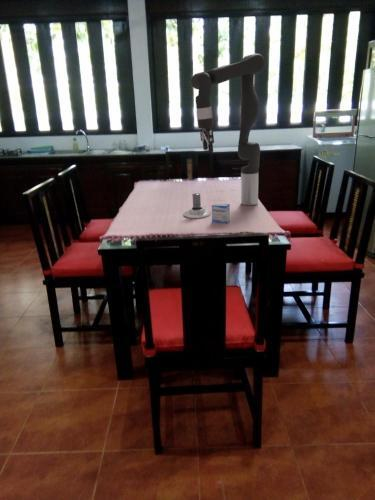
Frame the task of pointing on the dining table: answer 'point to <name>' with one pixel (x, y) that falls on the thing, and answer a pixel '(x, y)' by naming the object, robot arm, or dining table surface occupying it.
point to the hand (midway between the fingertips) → (208, 150)
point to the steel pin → (196, 201)
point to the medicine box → (220, 213)
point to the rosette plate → (197, 213)
